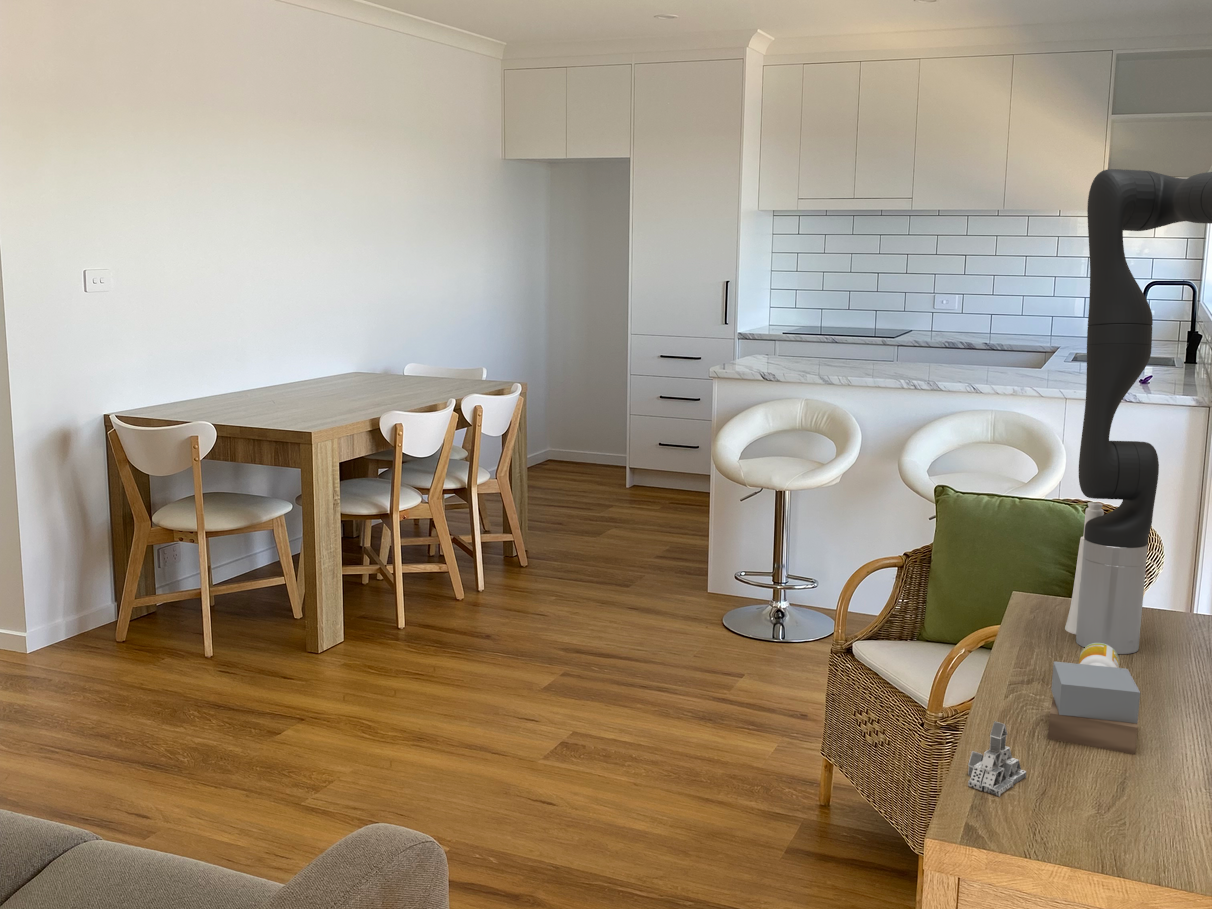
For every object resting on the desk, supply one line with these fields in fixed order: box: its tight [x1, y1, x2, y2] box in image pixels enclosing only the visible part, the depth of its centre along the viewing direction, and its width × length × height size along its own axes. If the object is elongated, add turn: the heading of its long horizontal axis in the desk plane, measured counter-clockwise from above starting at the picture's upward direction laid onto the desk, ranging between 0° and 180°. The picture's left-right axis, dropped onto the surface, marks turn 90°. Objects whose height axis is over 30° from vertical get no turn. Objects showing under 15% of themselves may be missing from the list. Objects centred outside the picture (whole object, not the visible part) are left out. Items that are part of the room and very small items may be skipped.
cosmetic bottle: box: [1064, 501, 1105, 635], centre depth 182 cm, size 6×6×22 cm
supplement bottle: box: [1078, 643, 1120, 668], centre depth 157 cm, size 5×5×10 cm
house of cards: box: [967, 720, 1028, 798], centre depth 128 cm, size 9×9×8 cm
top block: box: [1050, 660, 1141, 724], centre depth 140 cm, size 9×9×4 cm
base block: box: [1047, 696, 1138, 755], centre depth 141 cm, size 10×10×4 cm
